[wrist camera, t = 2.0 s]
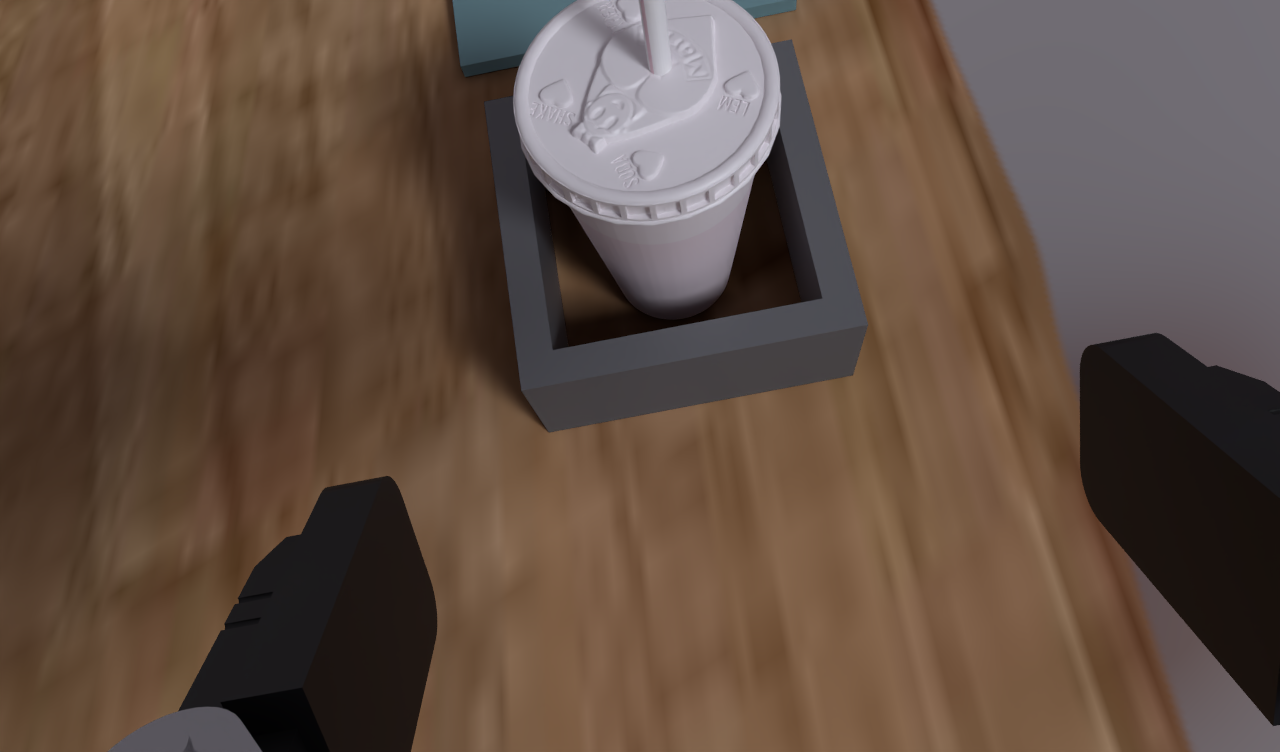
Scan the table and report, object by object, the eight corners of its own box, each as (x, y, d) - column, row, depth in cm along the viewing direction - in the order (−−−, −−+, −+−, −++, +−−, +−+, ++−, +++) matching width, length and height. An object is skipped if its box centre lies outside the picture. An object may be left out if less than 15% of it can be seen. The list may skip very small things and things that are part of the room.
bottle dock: (548, 432, 31) (521, 390, 27) (513, 171, 34) (483, 101, 30) (853, 375, 30) (868, 324, 27) (786, 116, 34) (791, 39, 30)
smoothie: (814, 257, 32) (861, -77, 19) (679, 399, 31) (629, 150, 17) (667, 147, 34) (616, -226, 21) (535, 277, 32) (392, -30, 19)
